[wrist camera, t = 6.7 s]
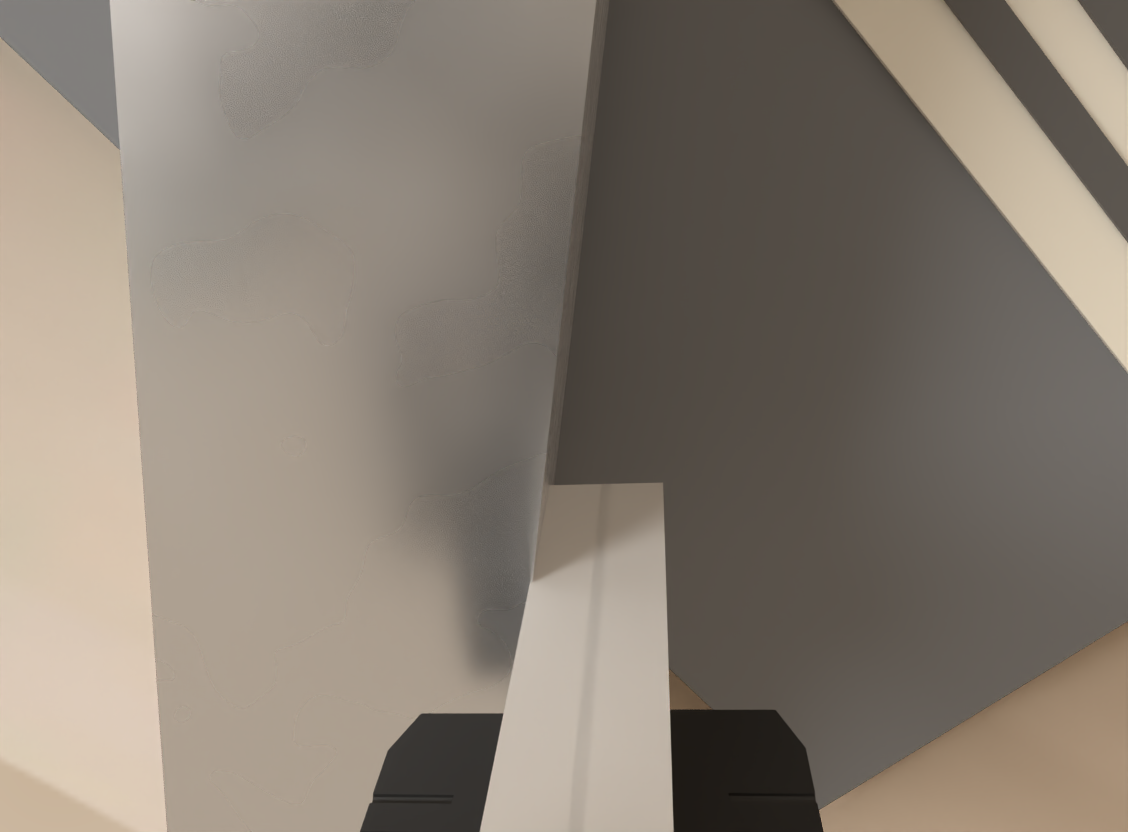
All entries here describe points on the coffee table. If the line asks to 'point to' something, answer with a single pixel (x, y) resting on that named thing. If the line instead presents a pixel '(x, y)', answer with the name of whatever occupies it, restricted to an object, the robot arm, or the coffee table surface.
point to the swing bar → (344, 369)
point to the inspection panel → (841, 340)
